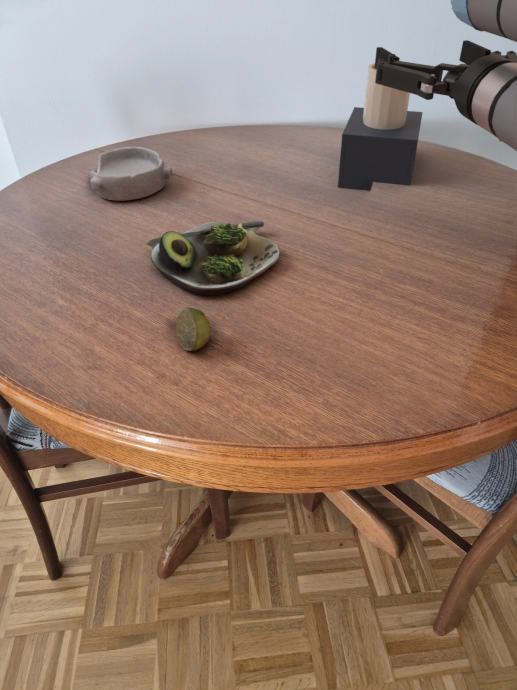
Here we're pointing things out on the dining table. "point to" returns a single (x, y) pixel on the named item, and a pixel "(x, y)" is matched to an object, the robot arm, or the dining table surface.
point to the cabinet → (377, 152)
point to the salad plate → (213, 256)
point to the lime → (192, 329)
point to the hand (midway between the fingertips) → (421, 53)
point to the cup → (384, 104)
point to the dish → (129, 173)
